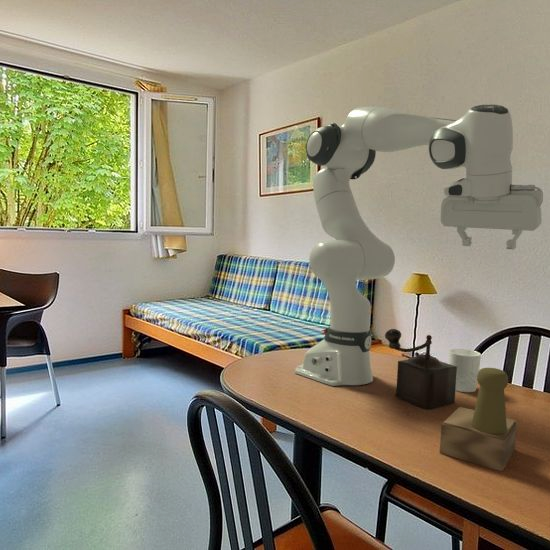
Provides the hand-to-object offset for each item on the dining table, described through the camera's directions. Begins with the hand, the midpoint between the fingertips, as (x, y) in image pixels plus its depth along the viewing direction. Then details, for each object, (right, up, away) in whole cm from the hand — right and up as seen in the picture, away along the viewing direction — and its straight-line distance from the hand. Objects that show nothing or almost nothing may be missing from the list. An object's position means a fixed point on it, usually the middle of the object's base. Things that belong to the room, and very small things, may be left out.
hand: (488, 247), depth 105 cm
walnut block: (-8, -40, -14) cm, 43 cm away
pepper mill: (-12, -38, +12) cm, 42 cm away
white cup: (+3, -37, +23) cm, 44 cm away
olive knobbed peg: (-8, -35, -18) cm, 40 cm away
